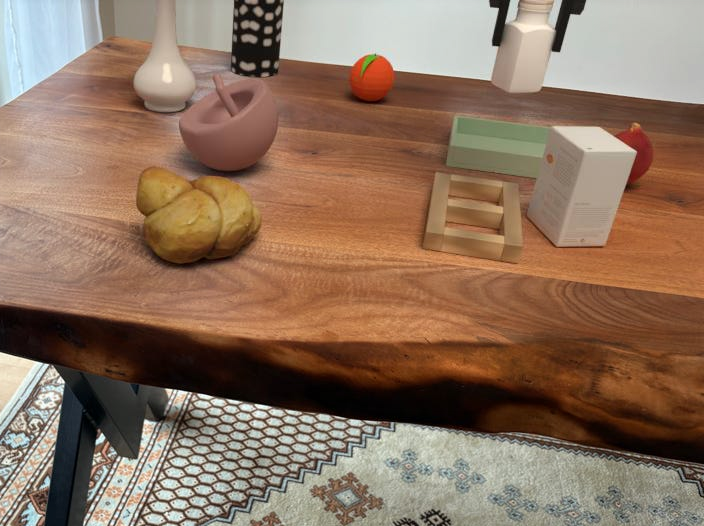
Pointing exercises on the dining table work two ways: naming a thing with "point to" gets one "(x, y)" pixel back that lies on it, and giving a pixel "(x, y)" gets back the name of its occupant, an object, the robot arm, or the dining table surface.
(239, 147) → the mortar and pestle
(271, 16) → the spotted tube
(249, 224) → the bread roll
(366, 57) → the clementine
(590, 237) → the small box
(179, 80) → the flower vase
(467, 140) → the tray
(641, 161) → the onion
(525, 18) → the pepper shaker
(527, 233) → the dining table surface
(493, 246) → the spice stand
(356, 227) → the dining table surface
